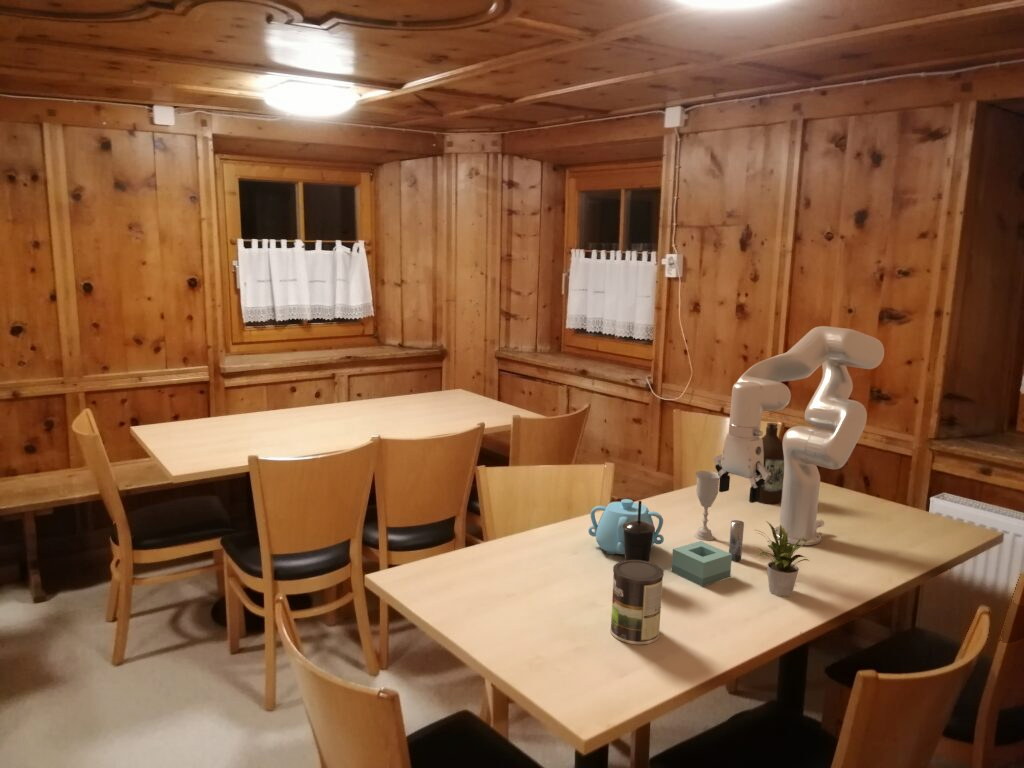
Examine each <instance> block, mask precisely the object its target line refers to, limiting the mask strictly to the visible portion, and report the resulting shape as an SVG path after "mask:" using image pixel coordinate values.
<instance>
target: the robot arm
mask: <svg viewBox="0 0 1024 768" xmlns="http://www.w3.org/2000/svg"><path fill="white" fill-rule="evenodd" d="M884 357H885V348H884V344H883V343H882V342H881V340H879V339H878V338H876V337H874V336H871V335H868V334H866V333H863V332H861V331H858V330H855V329H851V328H847V327H846V328H843V327H837V326H835V327H834V326H827V325H826V326H825V325H822V326H821V325H820V326H816V327H814V328H812V329H811V330H809V331H808V332H807V333H806V334H805V335H804V336H803V337H801V338H800V339H799V341H797V342H796V343H795V344H794V345H793V346H791V348H790V349H789V350H787V352H784V353H781V354H777V355H774V356H772V357H770V358H766V359H764V360H760V361H759V362H756V363H755V364H753V365H752V366H751V367H749V368H748V369H747V370H746V371H745V372H744V373H743V374H741V376H740V377H738V379H737V381H736V382H735V383H734V384H733V386H732V390H731V398H730V400H731V401H730V411H729V424H728V425H729V426H728V433H727V434H726V437H725V439H724V444H723V448H722V454H719V455H717V456H714V457H713V462H714V465H715V467H714V468H715V470H716V471H717V473H718V476H719V477H720V479H719V486H718V493H719V492H720V493H724V492H727V491H730V484H731V483H730V481H731V476H730V475H729V474H733V475H735V476H738V477H741V478H745V479H748V480H749V482H750V484H752V486H753V487H749V496H748V497H749V499H748V502H749V503H751V504H755V503H759V502H758V501H759V499H760V491H761V487H762V486H763V485H764V484H765V483H767V481H768V479H769V478H770V476H771V473H770V472H769V471H768V470H767V469H766V468H765V467H764V451H763V442H762V439H761V438H762V437H763V435H764V432H763V430H761V422H762V413H763V411H770V412H776V411H777V412H778V411H780V410H783V409H785V408H786V407H787V406H788V405H789V403H790V401H791V397H792V394H791V391H790V389H789V387H788V386H787V385H786V384H785V383H783V382H790V381H791V382H792V381H797V380H798V381H799V380H802V379H807V378H808V377H810V376H811V375H812V374H813V373H814V372H815V371H816V370H817V369H819V367H821V366H822V375H821V376H822V377H821V380H820V382H819V384H818V385H817V386H818V387H817V388H816V390H815V391H814V394H813V395H812V396H811V399H810V401H809V402H808V404H807V406H806V408H805V410H804V411H805V412H804V420H805V422H806V423H807V424H808V425H809V426H805V425H804V426H803V425H794V426H793V427H790V428H789V429H787V430H786V432H785V433H784V434H783V437H782V443H783V454H784V479H783V490H782V500H781V502H780V515H779V526H776V527H775V528H774V529H775V532H776V535H777V539H778V540H779V532H780V524H781V526H782V528H784V529H785V531H786V533H788V535H787V537H788V544H789V545H790V544H794V545H795V544H796V543H797V542H798V540H799V539H800V538H801V537H802V536H803V535H804V536H803V537H802V539H801V541H800V542H799V543H798V545H797V546H801V545H802V544H804V543H806V542H807V541H810V540H815V541H811V542H808V543H806V544H805V545H804V546H814V545H817V544H819V543H820V542H821V540H822V536H821V535H820V533H818V532H817V530H818V528H821V527H824V525H825V521H824V520H823V519H819V520H818V519H817V517H818V508H819V507H818V506H819V497H820V487H821V475H820V474H821V473H820V472H819V469H818V467H821V468H825V469H829V470H839V469H841V468H842V467H843V466H845V465H846V463H847V462H848V460H849V458H850V457H851V455H852V453H853V451H854V449H855V447H856V445H857V443H858V441H859V439H860V438H861V436H862V434H863V432H864V430H865V427H866V424H867V420H868V419H867V418H868V417H867V416H868V412H867V409H866V408H865V406H864V404H862V403H861V402H859V401H857V400H854V399H849V398H850V396H851V394H852V392H853V388H854V385H853V384H854V383H853V379H852V377H851V376H850V373H849V371H848V368H847V367H851V368H859V369H865V370H866V369H867V370H873V369H875V368H877V367H879V366H880V365H881V363H882V362H883V360H884ZM810 426H811V427H810ZM760 437H761V438H760ZM760 476H762V478H760ZM754 478H755V479H756V481H757V482H756V481H755V479H754ZM789 530H790V531H789ZM782 538H783V536H782Z"/></svg>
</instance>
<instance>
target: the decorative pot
mask: <svg viewBox="0 0 1024 768" xmlns="http://www.w3.org/2000/svg"><path fill="white" fill-rule="evenodd" d="M638 504H639V502H638V503H637V502H635V501H633V500H632V499H629V498H628V499H627V498H623V499H621V501H612V502H610V503H609V504H607V506H604V505H596V506H595V507H593V508H592V509H591V511H590V519H591V523H592V526H589V527H588V535H590V536H591V537H595V541H596V542H597V544H598V546H599V548H601V550H602V551H605V552H606V554H608V555H615V554H618V555H624V556H625V548H624V529H623V524H624V523H626V522H630V521H634V520H638ZM596 511H602V514H601V517H600V518H599V521H598V522H597V520H596V519H597V518H596V516H595V515H596V514H595V513H596ZM652 516H653V517H656V518H657V519H658V525H657V528H656V529H655V531H654V532H653V538H652V545H651V549H652V548H653V546H654V545H661V544H663V543H664V540H665V538H664V536H663V535H662V534H660V532H661V530H662V527H663V525H664V518H663V516H662V515H661V514H660V513H659V512H657V511H654V510H651V511H649V509H648V507H647V506H646V505H644V504H642V503H641V521H645V522H647V523H650V524H652V525H653V526H654V527H655V524H654V521H653V518H652ZM593 530H594V531H593ZM658 538H659V540H658Z"/></svg>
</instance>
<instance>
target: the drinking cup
mask: <svg viewBox="0 0 1024 768" xmlns="http://www.w3.org/2000/svg"><path fill="white" fill-rule="evenodd" d="M641 504H642V500H638V520H634V521H630V522H626V523H624V524H623V529H624V548H625V555H624V561H625V560H642V561H647V562H650V558H651V551H652V548H651V545H652V538H653V532H654V531H655V532H656V527H655V525H654V526H653V525H652V524H650V523H647V522H645V521H641Z"/></svg>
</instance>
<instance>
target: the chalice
mask: <svg viewBox="0 0 1024 768" xmlns="http://www.w3.org/2000/svg"><path fill="white" fill-rule="evenodd" d="M695 475H696V489H695V490H696V495H697V499H698V501H699V503H700V505H701V507H703V512H702V515H703V518H702V519H701V520H702V526H701V527H699V528H698V529H697V530H696V532H695V534H694V538H696V539H698V540H700V541H711V540H714V536H713V533H712V529H710V527H708V525H707V524H708V522H709V519H708V516H709V513H708V512H709V510H708V509H709V508H711V507H712V505H713V504H714V502H715V500H716V498H717V496H718V493H719V482H720V477H719V476H718V472H715V471H712V470H711V471H710V470H700V471H697V472H695Z"/></svg>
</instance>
